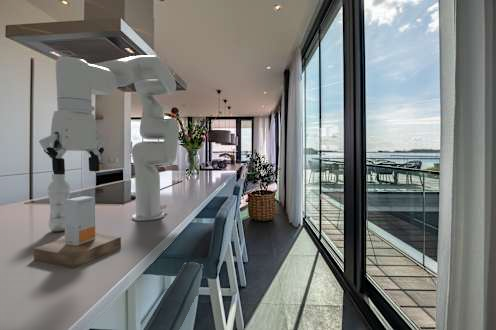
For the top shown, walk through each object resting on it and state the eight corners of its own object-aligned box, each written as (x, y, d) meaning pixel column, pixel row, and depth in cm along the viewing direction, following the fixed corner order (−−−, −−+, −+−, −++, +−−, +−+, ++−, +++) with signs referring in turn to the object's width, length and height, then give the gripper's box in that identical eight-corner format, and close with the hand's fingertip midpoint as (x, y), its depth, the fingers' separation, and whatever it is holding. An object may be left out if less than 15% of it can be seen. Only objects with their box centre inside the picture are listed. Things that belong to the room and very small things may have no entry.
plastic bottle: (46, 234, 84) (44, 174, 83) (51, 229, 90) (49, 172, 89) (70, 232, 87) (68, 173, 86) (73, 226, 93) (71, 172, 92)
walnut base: (85, 241, 78) (84, 231, 78) (120, 247, 73) (120, 237, 73) (33, 259, 65) (33, 248, 65) (73, 268, 60) (72, 255, 60)
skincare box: (77, 246, 66) (76, 200, 65) (64, 245, 67) (62, 199, 66) (96, 238, 72) (95, 196, 71) (84, 237, 73) (83, 195, 72)
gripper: (94, 112, 76) (96, 169, 77) (28, 103, 60) (31, 175, 61) (113, 111, 74) (115, 170, 75) (50, 101, 58) (53, 176, 59)
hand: (77, 172), depth 68 cm, fingers open, 9 cm apart
